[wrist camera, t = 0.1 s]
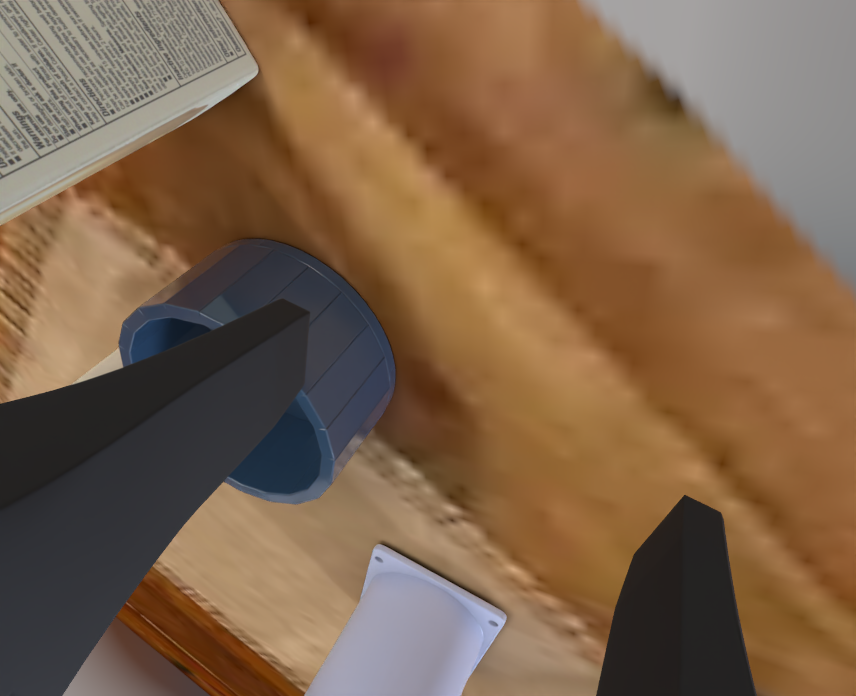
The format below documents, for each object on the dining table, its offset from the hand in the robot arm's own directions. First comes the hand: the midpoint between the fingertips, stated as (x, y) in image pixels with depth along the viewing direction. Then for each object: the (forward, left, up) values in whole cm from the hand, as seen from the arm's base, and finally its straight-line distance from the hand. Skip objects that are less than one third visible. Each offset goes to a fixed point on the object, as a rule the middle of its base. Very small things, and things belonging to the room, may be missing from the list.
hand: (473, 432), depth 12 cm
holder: (-12, +10, -10) cm, 18 cm away
